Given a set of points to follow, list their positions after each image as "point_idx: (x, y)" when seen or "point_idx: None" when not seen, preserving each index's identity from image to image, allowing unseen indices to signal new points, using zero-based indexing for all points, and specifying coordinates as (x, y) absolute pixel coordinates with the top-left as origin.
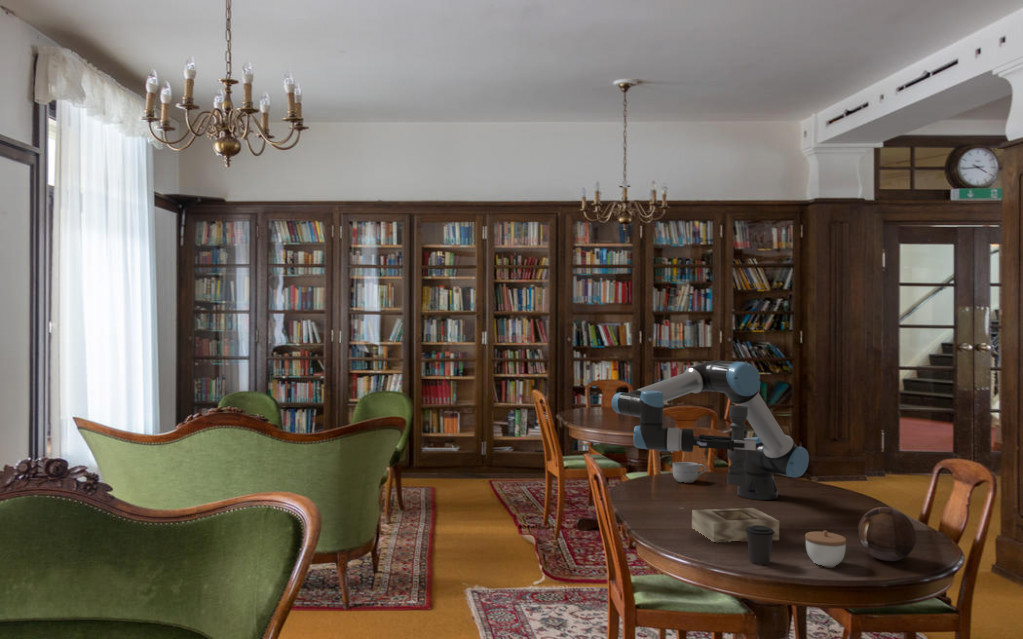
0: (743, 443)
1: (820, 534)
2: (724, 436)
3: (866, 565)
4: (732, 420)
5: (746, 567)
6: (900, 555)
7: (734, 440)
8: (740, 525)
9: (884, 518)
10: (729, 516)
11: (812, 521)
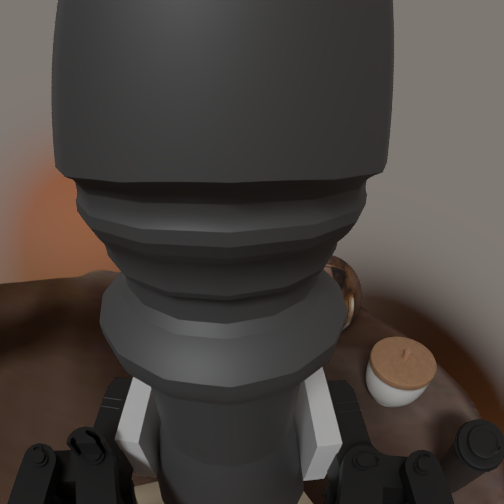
0: (343, 387)
1: (400, 365)
2: (20, 495)
3: (358, 349)
4: (298, 267)
5: (486, 483)
6: None
7: (335, 442)
8: None
9: (353, 273)
10: None
11: (95, 379)
